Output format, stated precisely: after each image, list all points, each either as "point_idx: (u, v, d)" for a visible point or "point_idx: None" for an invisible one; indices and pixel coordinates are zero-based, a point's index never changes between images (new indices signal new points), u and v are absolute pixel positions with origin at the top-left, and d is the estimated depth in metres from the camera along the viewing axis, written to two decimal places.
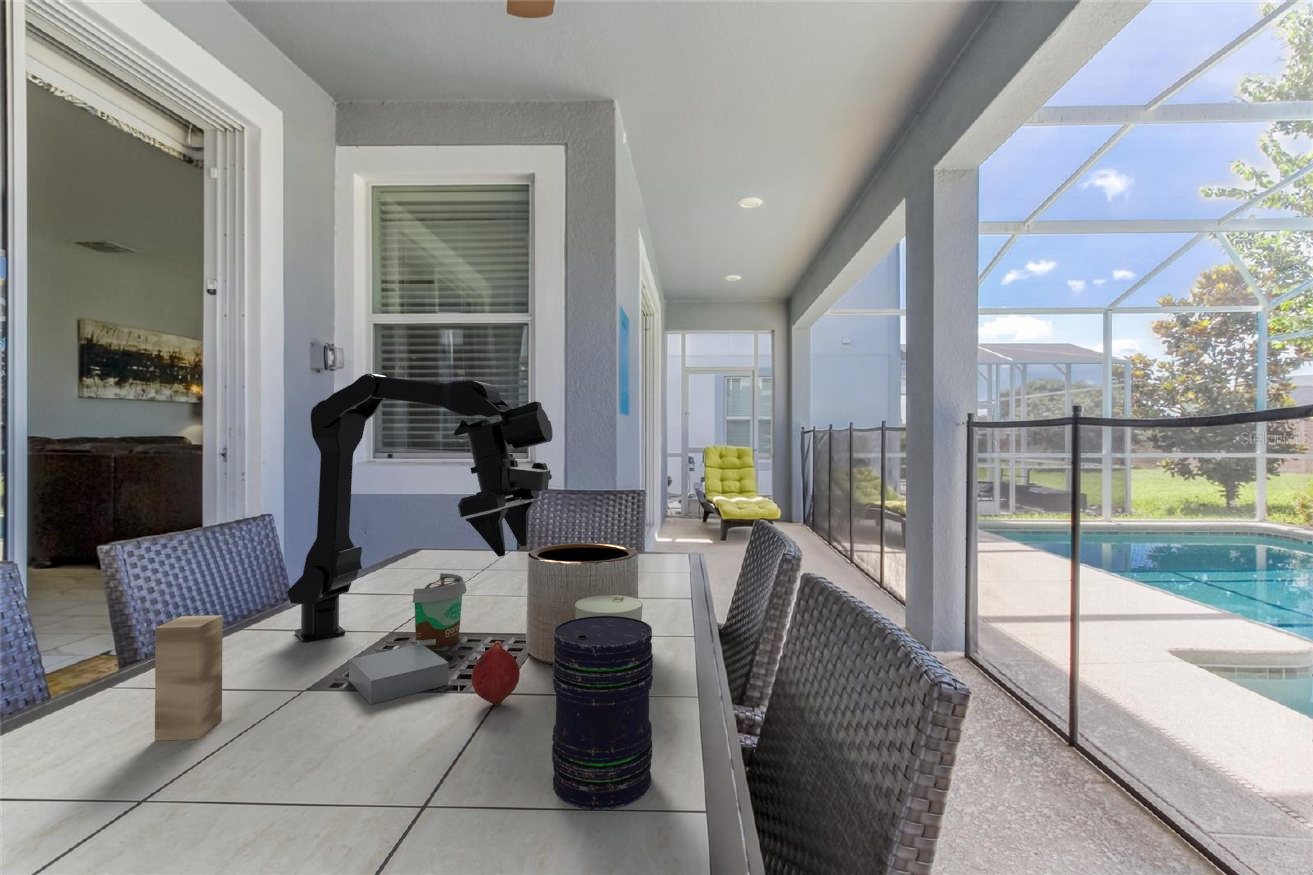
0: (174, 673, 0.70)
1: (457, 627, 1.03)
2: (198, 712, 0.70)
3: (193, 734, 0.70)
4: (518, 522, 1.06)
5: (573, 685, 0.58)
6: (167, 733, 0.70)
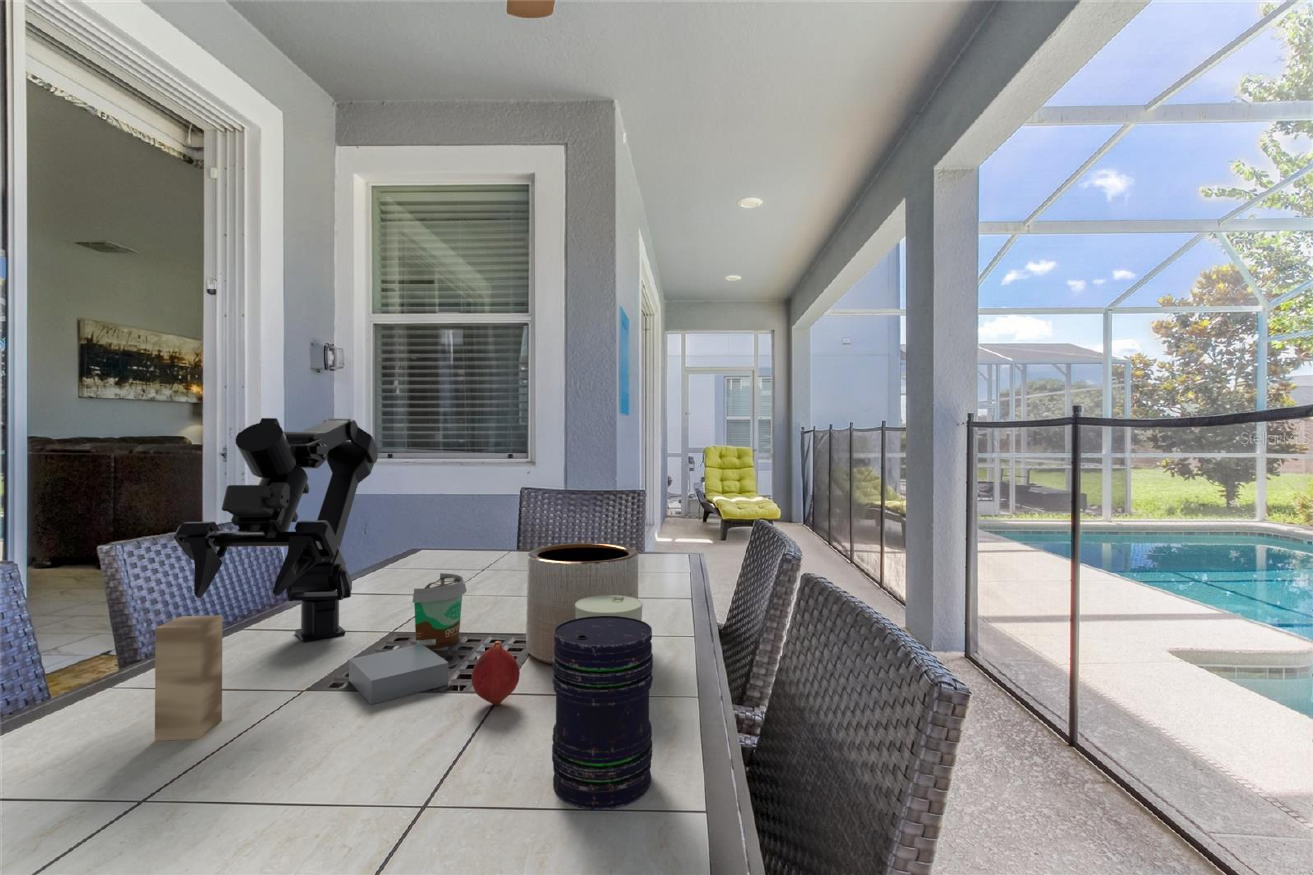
0: (174, 673, 0.70)
1: (457, 627, 1.03)
2: (198, 712, 0.70)
3: (193, 734, 0.70)
4: None
5: (573, 685, 0.58)
6: (167, 733, 0.70)
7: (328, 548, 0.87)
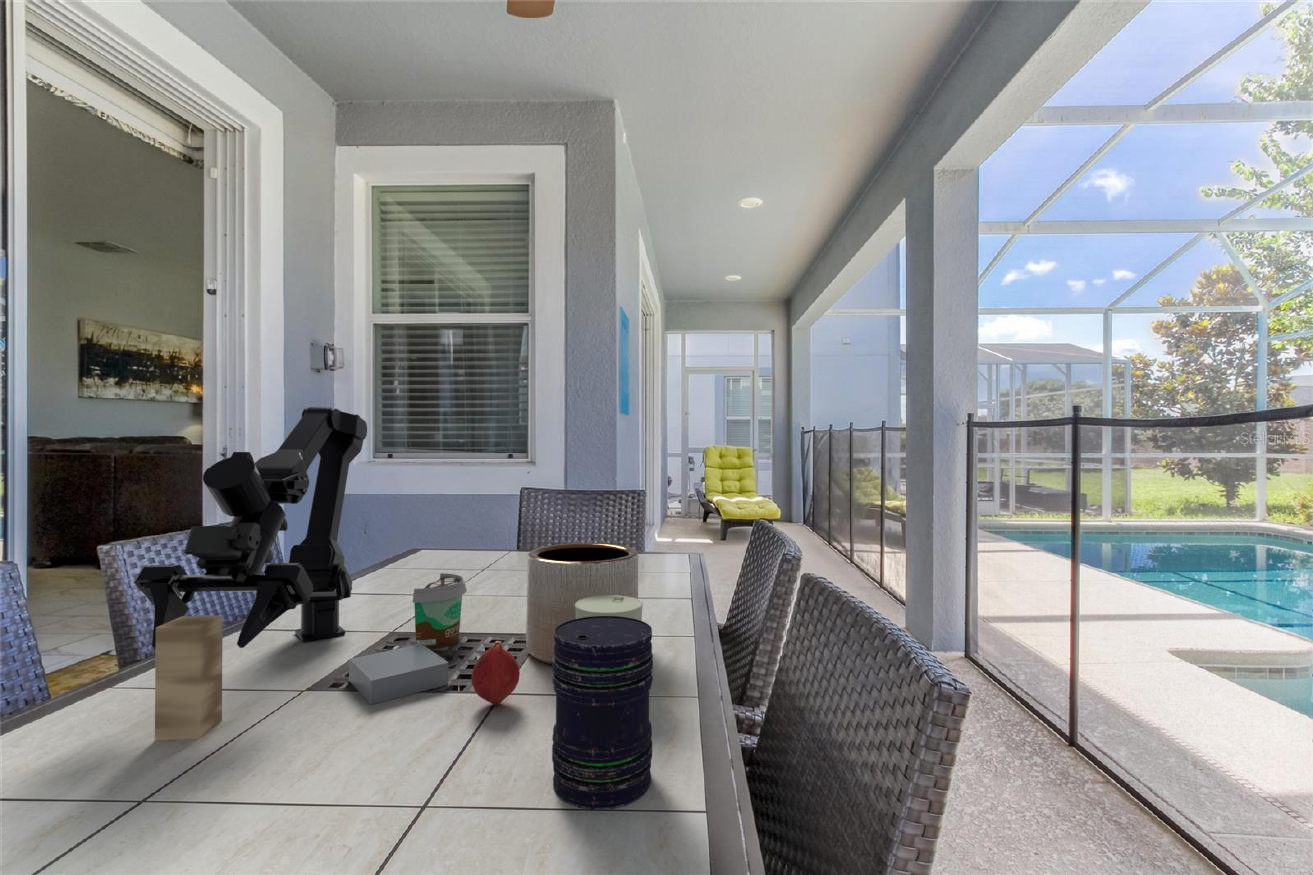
0: (174, 673, 0.70)
1: (457, 627, 1.03)
2: (198, 712, 0.70)
3: (193, 734, 0.70)
4: None
5: (573, 685, 0.58)
6: (167, 733, 0.70)
7: (301, 593, 0.80)
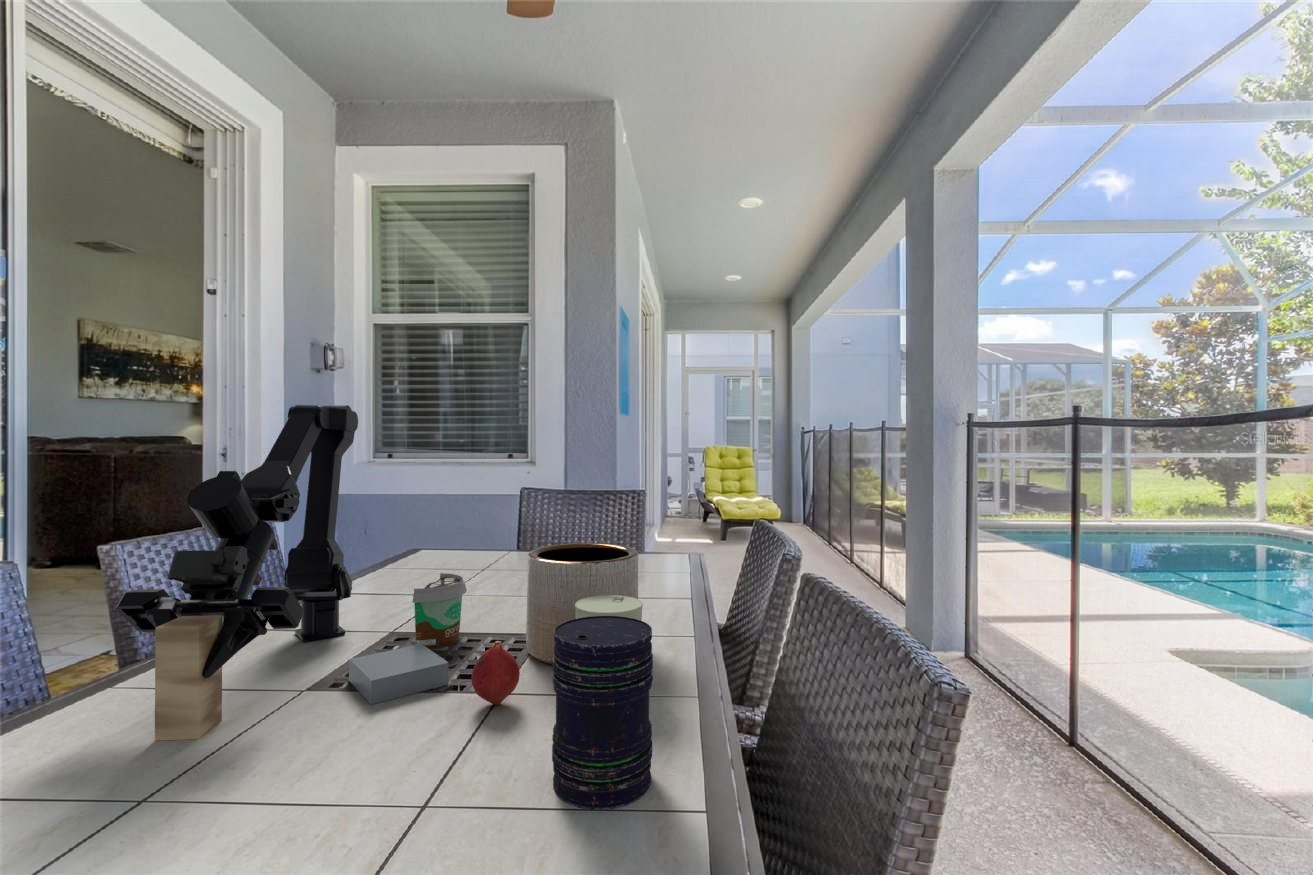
0: (174, 673, 0.70)
1: (457, 627, 1.03)
2: (198, 712, 0.70)
3: (193, 734, 0.70)
4: None
5: (573, 685, 0.58)
6: (167, 733, 0.70)
7: (290, 618, 0.77)
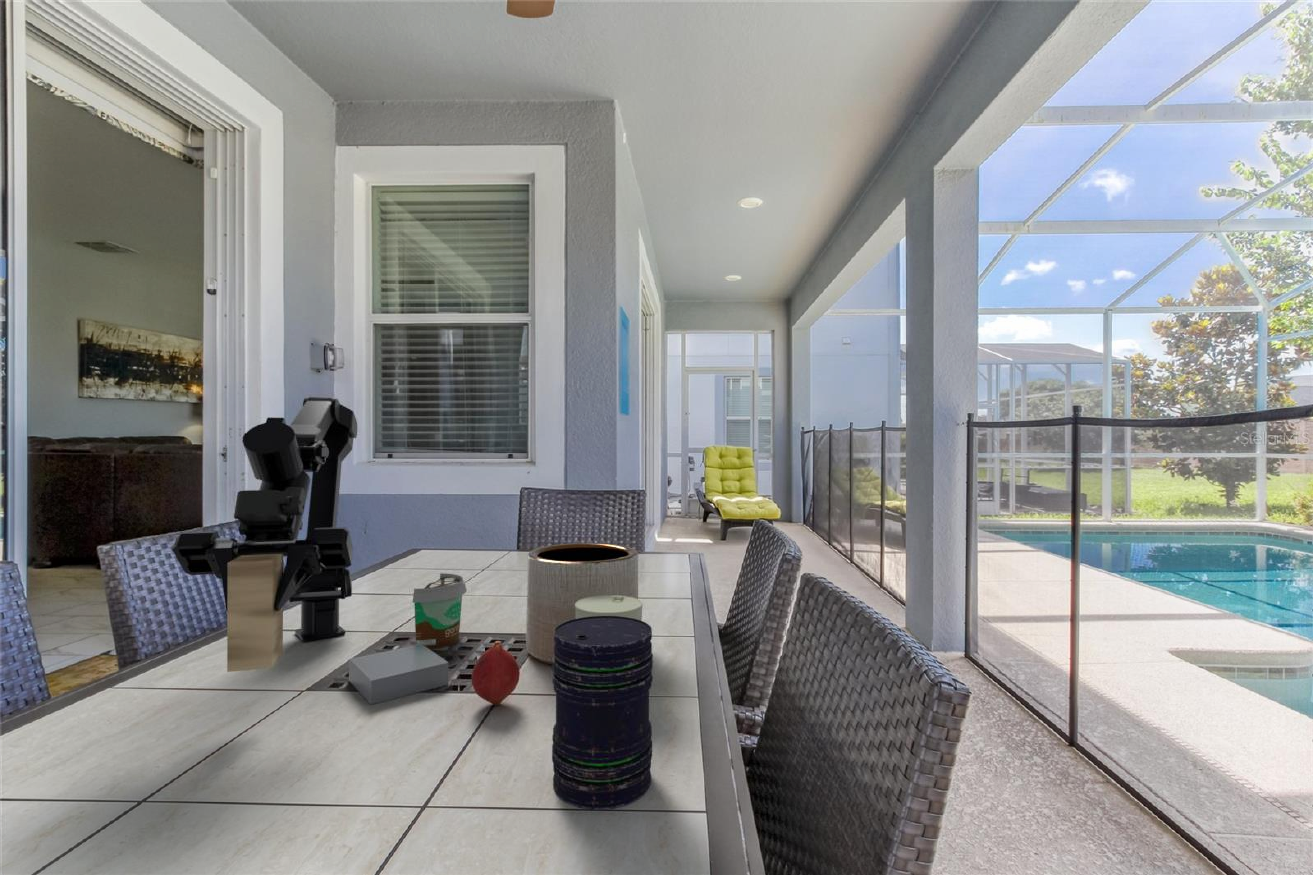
0: (247, 606, 0.72)
1: (457, 627, 1.03)
2: (271, 642, 0.73)
3: (266, 664, 0.73)
4: None
5: (573, 685, 0.58)
6: (240, 664, 0.72)
7: (346, 556, 0.81)
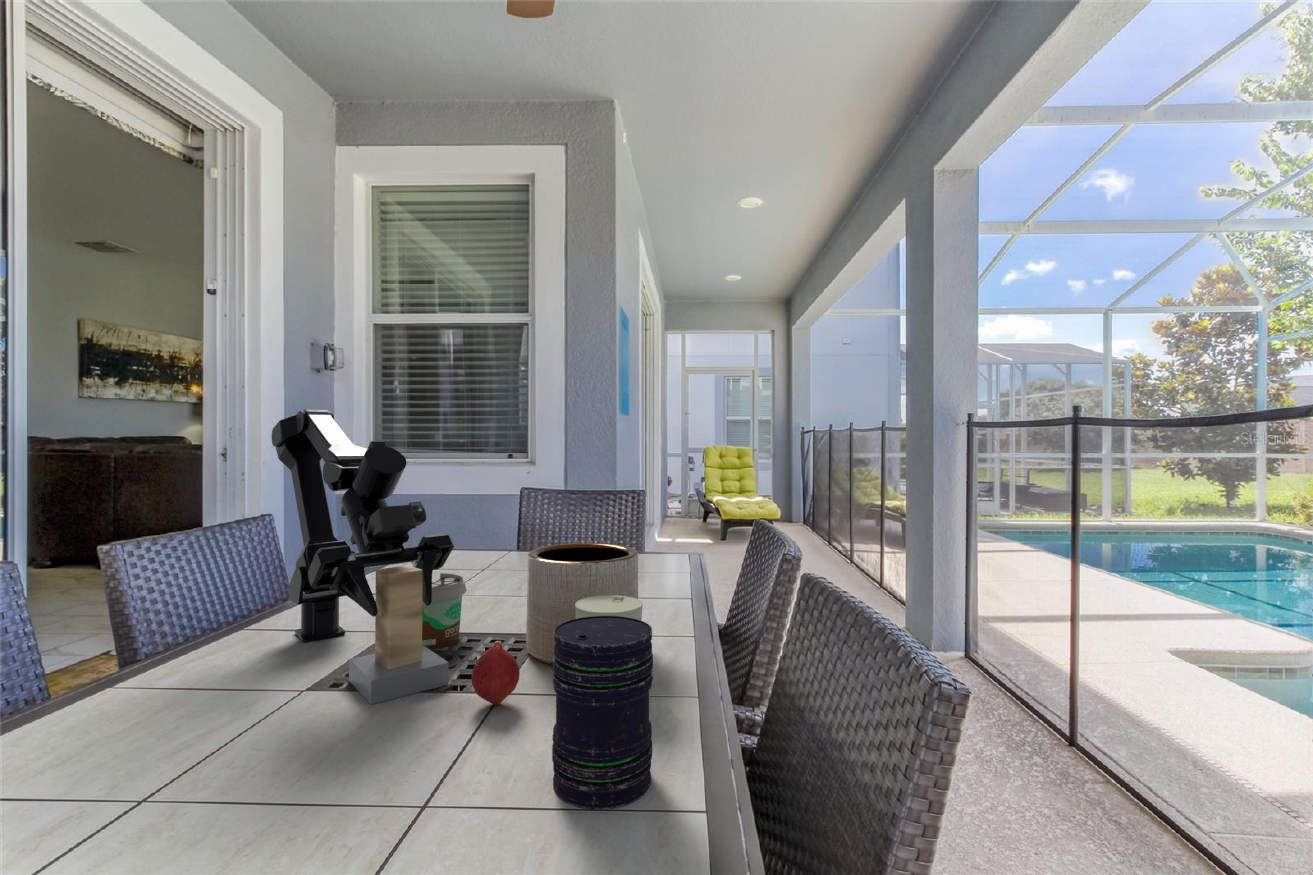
0: (404, 610, 0.84)
1: (457, 627, 1.03)
2: (421, 639, 0.86)
3: (418, 657, 0.86)
4: None
5: (573, 685, 0.58)
6: (398, 661, 0.84)
7: (445, 559, 0.96)
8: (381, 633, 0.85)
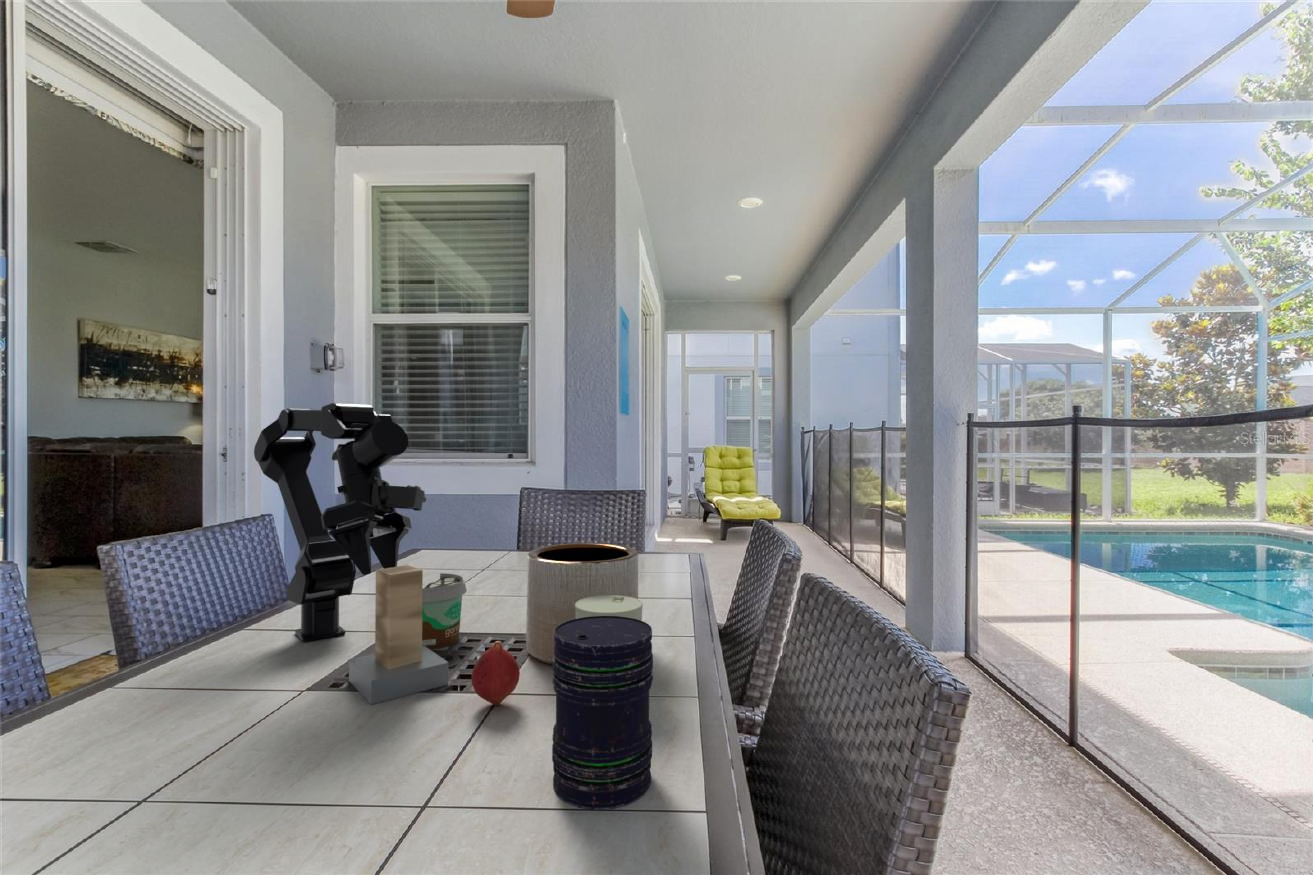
0: (404, 610, 0.84)
1: (457, 627, 1.03)
2: (421, 639, 0.86)
3: (418, 657, 0.86)
4: (387, 551, 1.01)
5: (573, 685, 0.58)
6: (398, 661, 0.84)
7: None
8: (381, 633, 0.85)
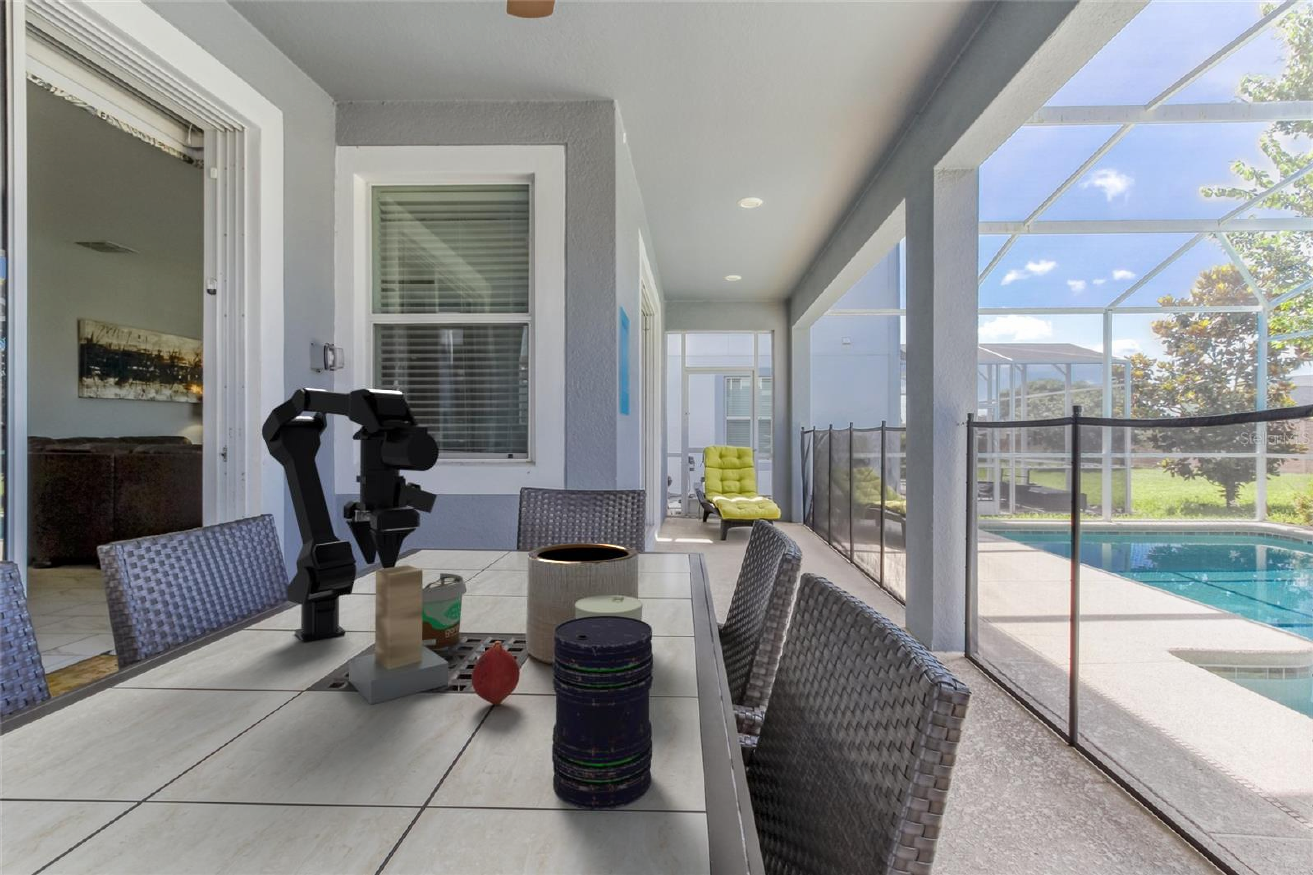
0: (404, 610, 0.84)
1: (457, 627, 1.03)
2: (421, 639, 0.86)
3: (418, 657, 0.86)
4: (370, 538, 1.02)
5: (573, 685, 0.58)
6: (398, 661, 0.84)
7: None
8: (381, 633, 0.85)
